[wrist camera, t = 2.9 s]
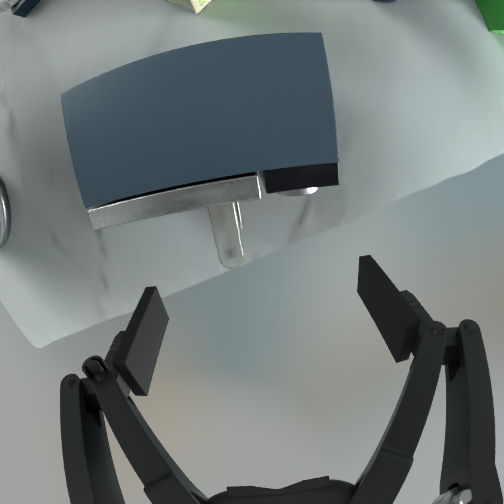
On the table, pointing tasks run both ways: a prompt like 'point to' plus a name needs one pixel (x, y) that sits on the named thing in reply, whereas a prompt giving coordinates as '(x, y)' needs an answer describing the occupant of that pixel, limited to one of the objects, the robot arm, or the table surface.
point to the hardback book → (492, 14)
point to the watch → (18, 6)
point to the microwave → (207, 119)
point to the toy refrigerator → (191, 4)
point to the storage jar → (385, 1)
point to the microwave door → (189, 198)
